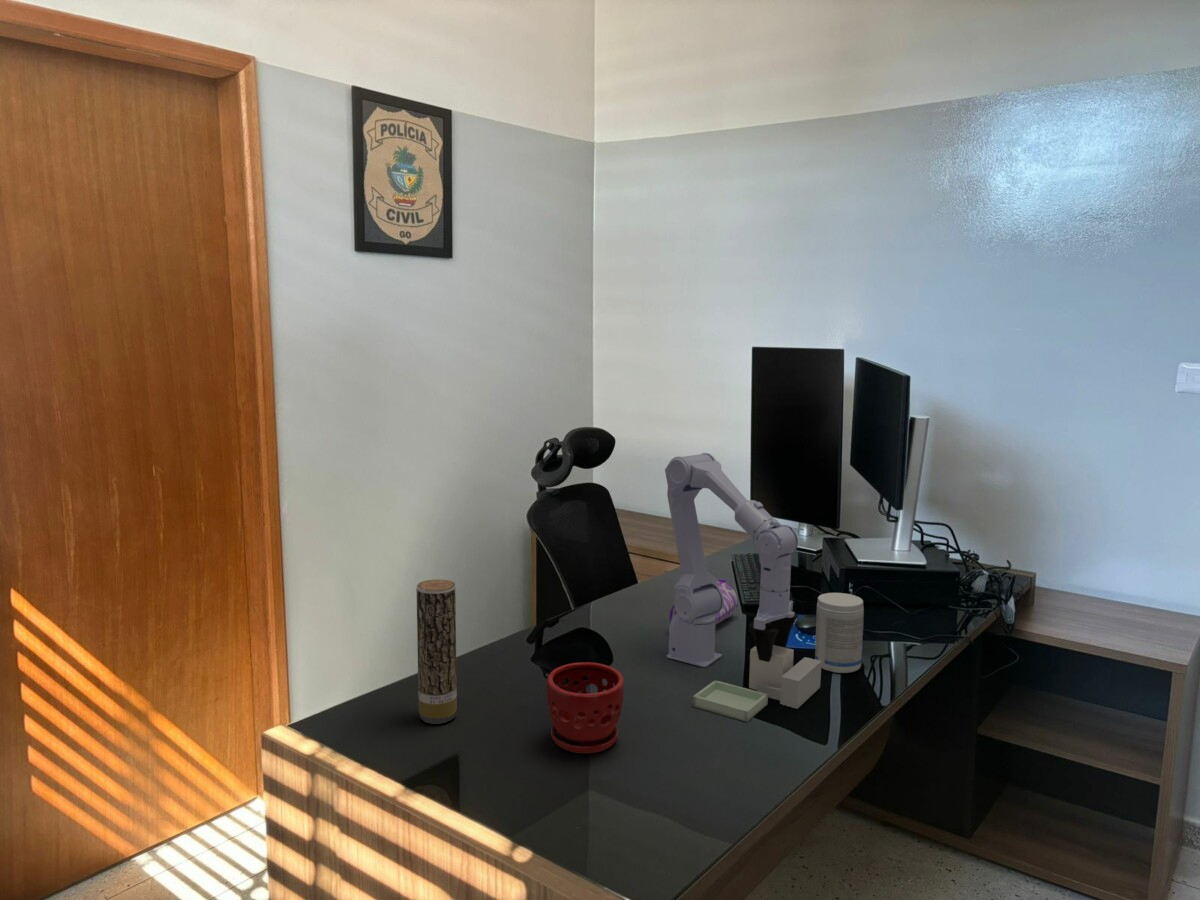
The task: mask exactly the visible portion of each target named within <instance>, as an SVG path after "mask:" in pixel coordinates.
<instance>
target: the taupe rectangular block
mask: <svg viewBox="0 0 1200 900" xmlns="http://www.w3.org/2000/svg"><path fill="white" fill-rule="evenodd" d="M794 652H795V650H794V649H792V648H788V647H786V648H784V647H780V646H775V645H774V644H773V650H772V656H771V659H770V661H769V662H766V661H762V660H759V658H758V653H757V648H756V645H755V646H753V647H752V648H751V649H750V653H749V656H748V657H749V675H748V676H749V679H748V689H750V690H754V691H757V684H758V683H761V684H765V685H769V686H773V687H777V688H781V676H783V675H784V674H785V673H786V672H787V671H789V670H790V669H791V668H792V667H793V666H794V657H795V656H794V655H795V654H794Z"/></svg>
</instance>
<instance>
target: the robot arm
mask: <svg viewBox="0 0 1200 900" xmlns="http://www.w3.org/2000/svg"><path fill="white" fill-rule="evenodd" d="M664 473H665V478H666V485H667V493H666V494H667V495H666V496H667V502H668V508H669V511H670V517H671V523H672V527H673V533H674V539H675V545H676V550H677V554H678V555H677V556H678V561H679V567H680V572H681V577H680V578H679V580H678V581H677V583H676V584H675V586H674V589H673V590H674V594H675V597H674V603H673V604H674V605H675V610H676V613H677V614H676V615H675V616H674V617H673V618H672V620H671V623H670V622H669V628H668V654H666V658H667V659H671V660H675V661H679V662H683V663H686V664H690V665H694V666H697V667H701V668H706V667H708V666H710V665H711V664H714V662H715V661H717V660H718V659H719V658H721V657H722V656H723V655H722V653H719V652H715V650H716V649H715V647H716V646H715V645H716V644H715V643H716V625H715V621H716V618H717V617H718V612H719V611H721V609H722V608H723V605H724V598H723V594H722V592H721V590H720V589H719V587H718V584H717V579H718V578H717V577H716V576H714V575H713V574H711V573H710V572H709V571H708V568H707V561H706V558H705V553H704V552H705V550H704V548H703V547H704V546H703V540H702V535H701V531H700V526H699V520H698V515H697V509H696V503H695V499H696V497H697V496H698V494H699V493H700V492H701V490H703V489H709V490H710V491H711V492H712V493H713V494H714V495H716V496H717V498H719V499H720V500H721V502H723V503H724V504H725V505H727V506H728V507H729V508H730V509H731V510H732V511H733V512H734V521H735V522H736V523H737V524H738V525H739V526H740V527H741V528H742V529H743V530H744V531H745V532H746V533H747V534H748V535H749V536H750V538H751V539H753V541H754V545H755V546H754V547H755V549H756V553H758V556H759V561H758V562H759V564H760V578H759V579H760V583H759V585H760V586H759V607H758V608H757V613H756V616H755V617H754V619H753V621H752V622H751V623H750V624H748V630H749V632H750V633H751V636H752V637H753V640H754V644H755V646H756V648H757V653H758V658H759V660H762V661H766V662H769V661H770V659H771V656H772V650H773V645H775V646H780V647H784V648H787V646H788V641H789V637H790V634H791V631H792V629H793V626H794V624H795V622H796V621H797V620H798V614H797V613H796V612H795V611H793V606H794V601H793V600H790V595H791V591H790V590H791V576H792V575H791V570H792V554H794V552H796V550H797V549H798V545H799V537H798V535H797V533H796V531H795V530H794V529H793V527H792V526H791V525H788V524H782V523H781V522H779V521H778V520H777V519H775V518H774V517H773V516H772V514H770V513H769V512H768V511H767V510H766V509H765V508H764V504H763V503H762V502H760V501H757V500H753V499H750V500H748V499H747V498H746V497H745V496H744V494H743V493H742V492H741V491H740V490H739V489H738V487H736V486H735V484H734V483H733V482H732V480H730V479H729V477H728V476H727V475H726V474H725V472H724V471H723V470H722V464H721V462H720V461H718V460H717V459H716V458H715V456H713V455H712V454H711V453H709V452H702V453H700V454H692V455H687V456H675V457H673V458H672V459H671V460H670V461H669V462H668V464H667V466H666V467H665V469H664Z"/></svg>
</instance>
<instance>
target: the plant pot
mask: <svg viewBox="0 0 1200 900" xmlns="http://www.w3.org/2000/svg"><path fill="white" fill-rule="evenodd" d="M584 677H587V680H584V679H583V678H584ZM566 679H567V680H568V683H567V684H564V681H565V680H566ZM603 680H606V682H607V683H606V685H605V684H604V682H603ZM575 682H578V684H576V685H575V684H574V683H575ZM624 682H625V679H624V677H623V675H622V673H621V672H620V671H618V670H617V669H616V668H614V667H612V666H609V665H606V664H603V663H598V662H589V661H587V662H585V661H584V662H574V663H573V662H572V663H568V664H564V665H560V666H559V667H556V668H554V669H553V670H552V671H551V672H550V673H549V674H548V676H547V681H546V699H547V700H546V701H547V706H548V707H547V708H548V712H549V717H550V719H551V722H552V724H553V725H552V727H551V729H550V735H551V739H552V740H553V742H554V743H555V744H556V745H557V746H559V747H560V748H562V749H563V750H565V751H568V752H571V753H574V754H575V753H577V754H595V753H599V752H603V751H605V750H607V749H608V748H611V747H612V746H613V745H614V743H615V742H616V741H617V740H618V737H619V729H618V727H617V725H618V723H619V721H620V720H619V719H620V716H621V713H622V709H623V703H624V693H625V692H624V690H625V687H624V685H625V684H624ZM588 685H595V686H596V688H597V692H591V693H588V692H587V687H588ZM568 690H569V691H568ZM579 692H581V693H579Z"/></svg>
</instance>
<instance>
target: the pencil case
mask: <svg viewBox="0 0 1200 900" xmlns="http://www.w3.org/2000/svg"><path fill="white" fill-rule="evenodd" d="M716 579H717V584H718V587H719V589H720V590H721V592H722V594H723V598H724V605H723V608H722V609H721V611H719V612H718V617H717V618H716V621H715V626H717V625H718V624H720V623H721V622H723V621H725V620H726V619H728V618H729V617H731V616H732V615H733V614H735V612H736V610H737V608H738V606H739V604H738V603H739V599H738V596H737V594H736V592H735V590H734V589H733V588H732V586H730V585H728V584H727V580H726V579H725V578H716ZM676 614H677V613H676V610H675V605H674V603H673V605H672V606H671V608H670V611H669V614H668V615H669V616H668V617H669V624H670V623H671V620H672V618H673V617H674V616H675V615H676Z"/></svg>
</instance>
